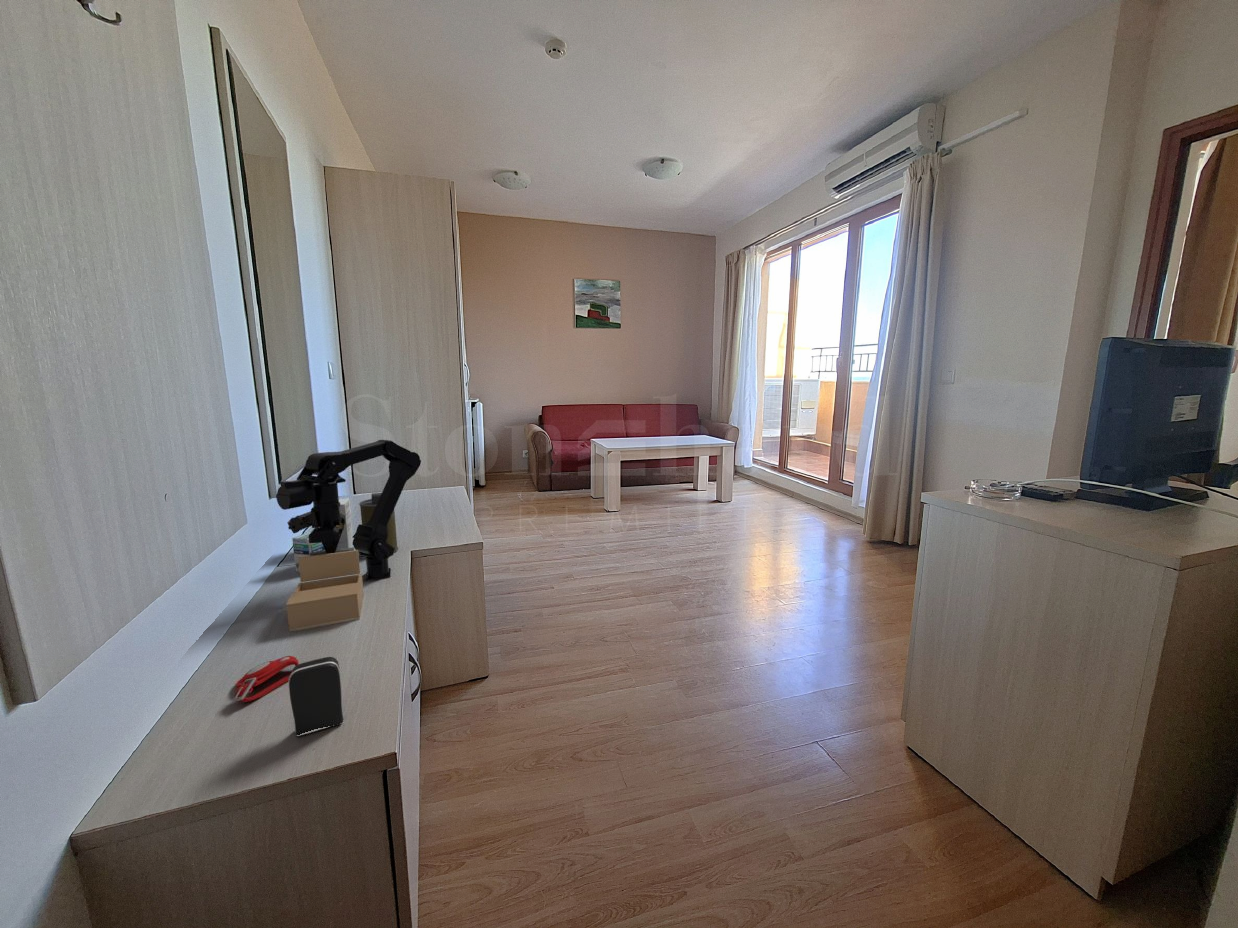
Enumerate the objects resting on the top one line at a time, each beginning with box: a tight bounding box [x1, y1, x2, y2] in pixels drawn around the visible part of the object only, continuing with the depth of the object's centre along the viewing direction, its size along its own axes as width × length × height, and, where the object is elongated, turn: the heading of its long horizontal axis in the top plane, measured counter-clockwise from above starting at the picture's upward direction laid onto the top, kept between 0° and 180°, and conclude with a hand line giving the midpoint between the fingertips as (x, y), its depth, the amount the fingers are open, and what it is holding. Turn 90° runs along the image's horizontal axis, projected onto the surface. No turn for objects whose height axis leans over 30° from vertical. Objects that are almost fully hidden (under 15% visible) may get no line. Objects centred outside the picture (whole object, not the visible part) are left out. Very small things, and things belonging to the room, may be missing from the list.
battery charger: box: [288, 656, 345, 736], centre depth 76 cm, size 7×4×11 cm, turn 120°
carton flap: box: [298, 547, 361, 583], centre depth 122 cm, size 6×13×7 cm
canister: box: [358, 492, 399, 553], centre depth 155 cm, size 11×10×20 cm
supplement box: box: [318, 497, 354, 549], centre depth 156 cm, size 10×9×17 cm
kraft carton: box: [285, 573, 365, 633], centre depth 114 cm, size 14×14×7 cm
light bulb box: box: [291, 530, 339, 573], centre depth 142 cm, size 11×7×11 cm, turn 169°
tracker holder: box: [231, 655, 300, 703], centre depth 87 cm, size 12×4×10 cm
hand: (331, 558), depth 123 cm, fingers closed
